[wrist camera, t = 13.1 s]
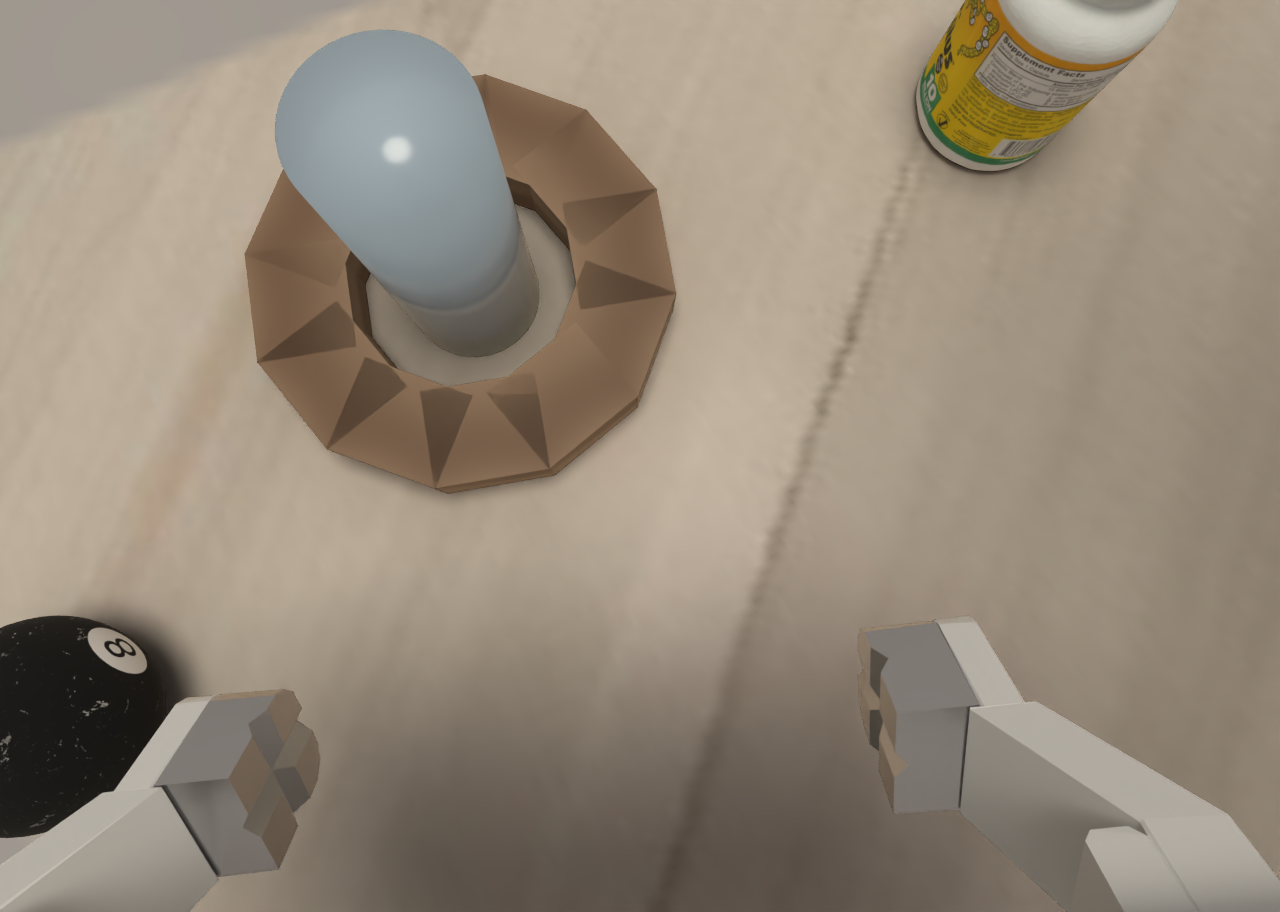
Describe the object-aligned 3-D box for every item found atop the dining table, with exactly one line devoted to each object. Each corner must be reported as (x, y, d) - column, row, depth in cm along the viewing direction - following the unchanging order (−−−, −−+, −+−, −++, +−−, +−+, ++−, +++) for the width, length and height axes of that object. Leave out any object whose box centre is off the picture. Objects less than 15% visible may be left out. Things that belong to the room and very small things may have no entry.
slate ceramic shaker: (528, 224, 28) (469, 16, 17) (548, 345, 28) (500, 207, 17) (403, 244, 28) (263, 45, 17) (420, 366, 27) (287, 240, 17)
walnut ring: (630, 86, 29) (630, 52, 27) (698, 450, 27) (704, 441, 25) (255, 143, 28) (227, 112, 26) (301, 519, 27) (275, 516, 25)
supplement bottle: (1008, 201, 29) (1198, 26, 19) (884, 127, 29) (1012, -81, 20) (1076, 89, 29) (1292, -134, 20) (954, 18, 30) (1111, -236, 20)
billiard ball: (238, 700, 26) (124, 743, 20) (100, 836, 25) (-60, 922, 19) (119, 574, 26) (-28, 579, 20) (-19, 705, 26) (-213, 750, 20)
